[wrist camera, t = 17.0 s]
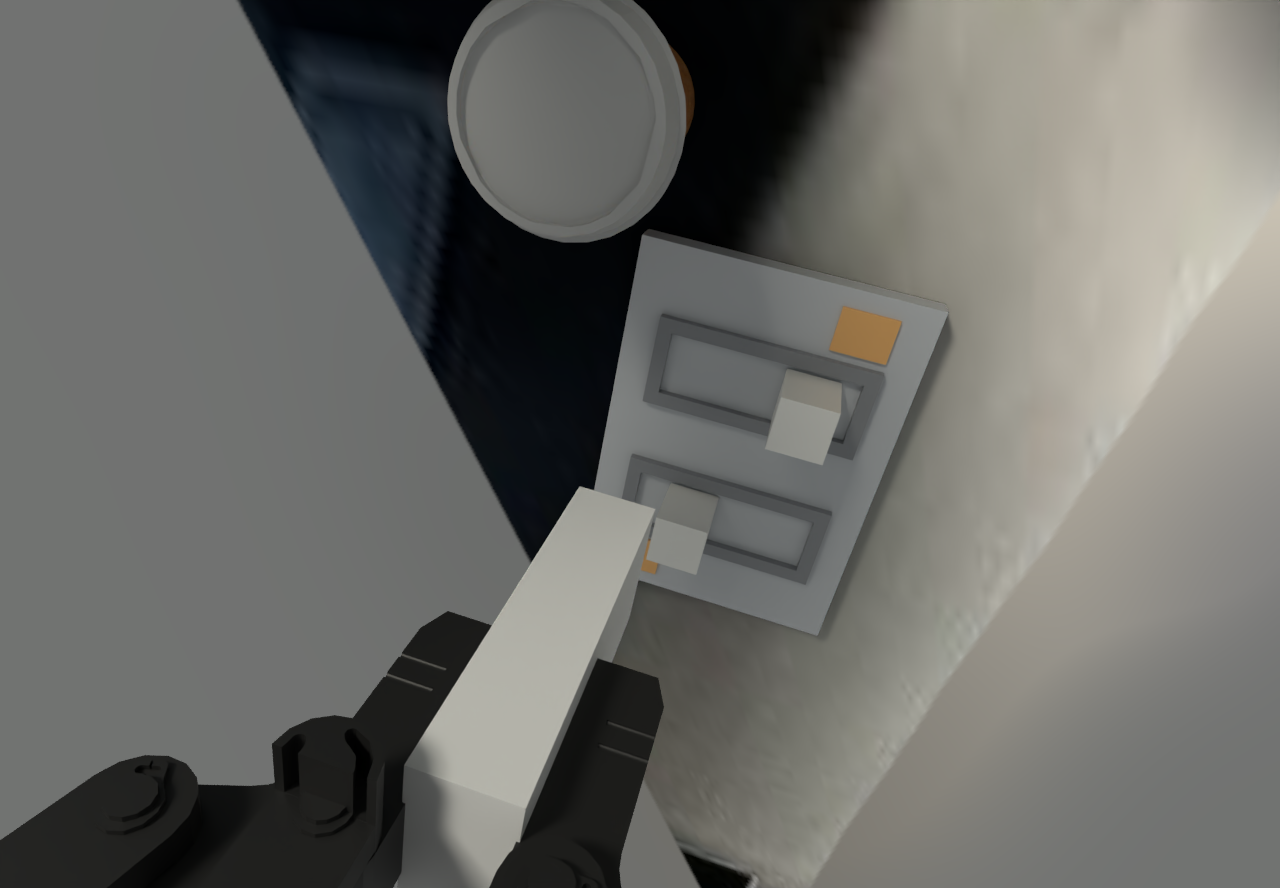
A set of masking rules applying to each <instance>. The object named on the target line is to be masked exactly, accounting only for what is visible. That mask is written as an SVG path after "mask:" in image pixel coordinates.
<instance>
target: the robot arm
mask: <svg viewBox="0 0 1280 888" xmlns="http://www.w3.org/2000/svg"><path fill="white" fill-rule="evenodd" d="M654 513H655V509H654V508H650V507H647V506H644V505H640V504H637V503H634V502H630V501H627V500H624V499H620V498H617V497H614V496H610V495H607V494H604V493H600V492H597V491H594V490H590V489H587V488H584V487H579V488H578V490H577V491H576V493H575V494H574V496H573V498H572V499H571V501H570V502H569V504H568V506H567V507H566V509H565V510H564V512H563V514H562V515H561V517H560V518H559V520H558V522H557V523H556V525H555V526H554V528H553V529H552V531H551V533H550V534H549V536H548V537H547V539H546V541H545V542H544V544H543V545H542V547H541V549H540V550H539V552H538V553H537V555H536V556H535V558H534V560H533V561H532V563H531V564H530V566H529V568H528V569H527V571H526V573H525V574H524V576H523V577H522V579H521V580H520V582H519V583H518V585H517V587H516V588H515V590H514V591H513V593H512V595H511V596H510V598H509V600H508V601H507V603H506V604H505V606H504V607H503V609H502V611H501V612H500V614H499V615H498V617H497V618H496V620H495V622H494V623H493V625H489V624H486V623H483V622H480V621H477V620H474V619H470V618H467V617H464V616H461V615H458V614H455V613H452V612H449V611H447V612H446V613H444V614H442V615H441V616H439V617H438V618H436V619H434V620H433V621H431V622H429V623H428V624H426V625H425V626H423V627H421V628H420V629H419V631H418V632H417V634H416V635H415V636H414V637H413V639H412V640H411V642H410V643H409V644H408V645H407V647H406V648H405V649H404V651H403V652H402V655H401V657H398V659H397V660H396V661H395V663H394V664H393V665H392V667H391V668H390V669H389V671H388V673H387V675H386V677H383V679H382V680H381V681H380V683H379V684H378V685H377V687H376V688H375V689H374V691H373V692H372V693H371V695H370V696H369V697H368V699H367V700H366V701H365V703H364V704H363V705H362V707H361V708H360V709H359V711H358V712H357V713H356V715H355V716H354V717H353V718H347V717H342V716H335V715H334V716H327V717H321V718H313V719H310V720H308V721H305V722H303V723H301V724H299V725H297V726H294V727H292V728H290V729H289V730H288V731H286V732H285V733H284V734H283V735H282V736H280V737H279V738H278V739H277V740H276V741H275V742H274V743H272V749H273V764H274V777H275V783H273V784H269V785H257V786H230V785H198V782H197V777H196V776H195V774H194V773H193V772H192V770H191V769H190V768H189V767H188V765H187V764H186V763H184V762H181V761H179V760H176V759H174V758H172V757H169V756H150V755H147V756H146V755H145V756H141V757H137V758H133V759H129V760H125V761H121V762H118V763H117V764H115V765H113V766H111V767H109V768H107V769H105V770H103V771H101V772H99V773H98V774H96V775H94V776H93V777H91V778H90V779H88V780H87V781H86V782H84V783H83V784H81V785H80V786H78V787H77V788H75V789H74V790H72V791H71V792H69V793H68V794H67V795H65V796H64V797H62V798H61V799H59V800H58V801H56V802H55V803H54V804H52V805H51V806H49V807H48V808H46V809H45V810H43V811H42V812H41V813H39V814H38V815H36V816H35V817H33V818H32V819H30V820H29V821H27V822H26V823H25V824H23V825H22V826H20V827H19V828H17V829H16V830H14V831H13V832H12V833H10V834H9V835H7V836H6V837H4V838H3V839H2V840H0V888H393V887H394V884H395V883H396V881H397V880H398V887H397V888H621V883H620V872H619V867H620V860H621V854H622V850H623V847H624V843H625V840H626V836H627V833H628V829H629V826H630V822H631V819H632V815H633V812H634V809H635V805H636V802H637V798H638V794H639V791H640V788H641V784H642V781H643V777H644V774H645V770H646V767H647V764H648V760H649V757H650V753H651V750H652V746H653V743H654V739H655V736H656V732H657V729H658V726H659V722H660V719H661V715H662V712H663V708H664V706H663V700H662V695H661V690H660V685H659V680H658V678H656V677H653V676H650V675H647V674H644V673H641V672H638V671H635V670H632V669H629V668H626V667H623V666H620V665H617V664H614V663H612V660H613V658H614V655H615V653H616V650H617V648H618V645H619V643H620V640H621V638H622V635H623V633H624V630H625V628H626V625H627V623H628V620H629V617H630V613H631V609H632V605H633V601H634V596H635V592H636V588H637V584H638V580H639V576H640V571H641V567H642V563H643V559H644V555H645V550H646V546H647V542H648V538H649V534H650V530H651V525H652V521H653V517H654Z"/></svg>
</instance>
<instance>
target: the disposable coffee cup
mask: <svg viewBox="0 0 1280 888" xmlns="http://www.w3.org/2000/svg"><path fill="white" fill-rule="evenodd" d="M447 102H448V123H449V127H450V131H451V135H452V140H453V144H454V148H455V151H456V153H457V156H458V158H459V161H460V163H461V166H462V168H463V170H464V171H465V173H466V175H467V177H468V178H469V180H470V182H471V183H472V185H473V186H474V187H475V189H476V190H477V191H478V192H479V194H480V195H481V196H482V198H483V199H484V200H485V201H486V202H487V203H488V204H489V205H491V206H492V207H493V208H494V209H495V210H496V211H498V212H499V213H500V214H501V215H502V216H503V217H504V218H506V219H508V220H510V221H512V222H513V223H514V224H516V225H517V226H519V227H520V228H521V229H524V230H526V231H528V232H531V233H533V234H535V235H538V236H540V237H542V238H547V239H551V240H555V241H560V242H591V241H595V240H599V239H603V238H608V237H611V236H613V235H615V234H617V233H619V232H621V231H623V230H625V229H627V228H628V227H630V226H632V225H634V224H635V223H636V222H637V221H639V220H640V219H641V218H642V217H643V216H644V215H646V214H647V213H648V212H649V211H650V210H651V209H652V208H653V207H654V206H655V205H656V203H657V202H658V201H659V200H660V199H661V197H662V196H663V194H664V193H665V191H666V189H667V187H668V185H669V183H670V182H671V180H672V178H673V176H674V174H675V171H676V168H677V165H678V163H679V160H680V157H681V154H682V150H683V144H684V139H685V136H686V134H687V132H688V130H689V128H690V125H691V122H692V119H693V113H694V105H695V102H694V88H693V84H692V79H691V76H690V74H689V71H688V69H687V67H686V64H685V63H684V62H683V60H682V59H681V57H680V56H679V54H678V53H677V52H676V51H675V50H674V49H673V48H672V47H671V46H670V45H669V44H668V43H667V40H666V38H665V37H664V35H663V34H662V33H661V31H660V30H659V28H658V27H657V26H656V24H655V23H654V22H653V20H652V19H651V17H650V16H649V15H648V14H647V13H646V12H645V10H643V9H642V8H641V7H640V6H639V5H638V4H636V3H635V2H634V1H633V0H492V1H491V2H490V3H489V4H488V5H487V6H486V7H485V8H484V9H483V10H482V11H481V13H480V14H479V15H478V16H477V17H476V19H475V20H474V21H473V23H472V25H471V27H470V28H469V30H468V32H467V34H466V35H465V37H464V39H463V41H462V43H461V45H460V48H459V50H458V53H457V55H456V58H455V61H454V64H453V68H452V71H451V75H450V78H449V88H448V98H447Z"/></svg>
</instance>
